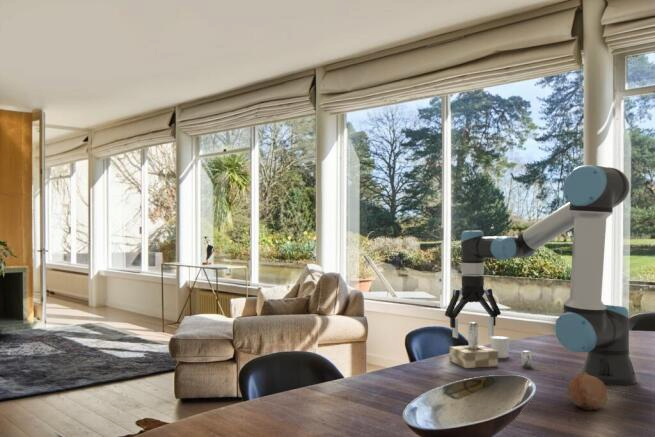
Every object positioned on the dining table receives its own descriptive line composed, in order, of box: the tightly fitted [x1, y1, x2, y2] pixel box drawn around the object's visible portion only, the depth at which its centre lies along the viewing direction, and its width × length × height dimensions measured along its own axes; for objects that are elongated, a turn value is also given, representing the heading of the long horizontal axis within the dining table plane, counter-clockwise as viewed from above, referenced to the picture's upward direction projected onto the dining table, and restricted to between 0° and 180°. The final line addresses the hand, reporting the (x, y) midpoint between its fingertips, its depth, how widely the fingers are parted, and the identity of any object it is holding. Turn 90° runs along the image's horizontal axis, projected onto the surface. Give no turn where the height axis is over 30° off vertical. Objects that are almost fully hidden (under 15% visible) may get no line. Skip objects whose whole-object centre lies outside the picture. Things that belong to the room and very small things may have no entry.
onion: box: [567, 371, 609, 412], centre depth 160 cm, size 10×9×10 cm
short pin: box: [520, 350, 532, 368], centre depth 209 cm, size 3×3×5 cm
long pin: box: [467, 321, 479, 350], centre depth 214 cm, size 3×3×14 cm
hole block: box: [449, 344, 499, 369], centre depth 214 cm, size 12×12×5 cm
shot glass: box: [489, 335, 510, 359], centre depth 226 cm, size 7×7×7 cm
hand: (473, 336), depth 214 cm, fingers open, 13 cm apart
